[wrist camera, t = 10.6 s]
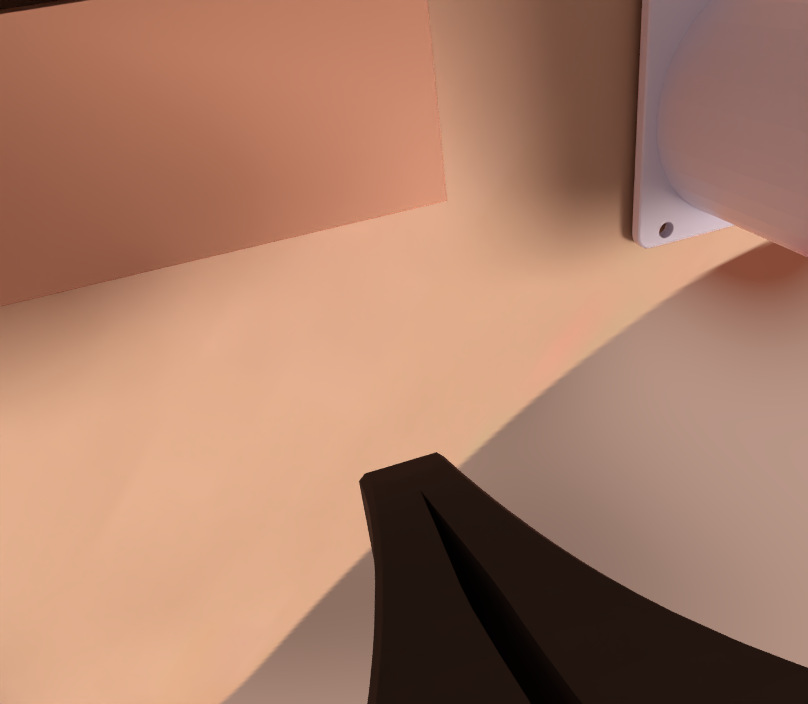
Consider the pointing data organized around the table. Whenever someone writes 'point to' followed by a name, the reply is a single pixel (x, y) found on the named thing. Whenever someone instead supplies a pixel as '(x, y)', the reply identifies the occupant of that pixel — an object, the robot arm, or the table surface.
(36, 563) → the table surface
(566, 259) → the table surface
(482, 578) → the robot arm
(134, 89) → the brown square hole board
